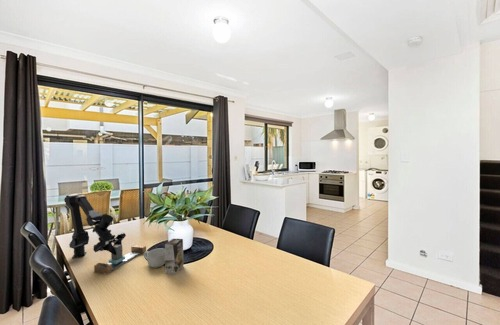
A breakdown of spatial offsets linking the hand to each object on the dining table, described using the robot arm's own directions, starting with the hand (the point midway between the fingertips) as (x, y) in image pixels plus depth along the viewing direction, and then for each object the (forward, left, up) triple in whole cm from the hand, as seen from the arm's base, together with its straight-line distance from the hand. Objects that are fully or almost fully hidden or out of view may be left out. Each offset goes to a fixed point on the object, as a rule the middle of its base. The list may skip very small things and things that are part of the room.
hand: (118, 253), depth 140 cm
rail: (-4, +1, -7) cm, 8 cm away
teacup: (+9, +19, -7) cm, 23 cm away
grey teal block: (-1, -1, -5) cm, 5 cm away
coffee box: (+20, +29, -7) cm, 36 cm away
